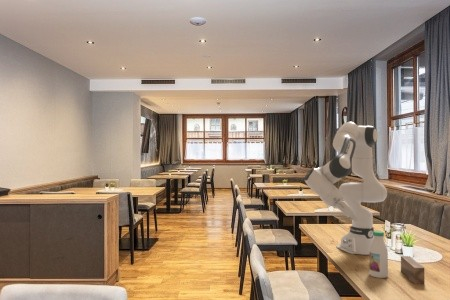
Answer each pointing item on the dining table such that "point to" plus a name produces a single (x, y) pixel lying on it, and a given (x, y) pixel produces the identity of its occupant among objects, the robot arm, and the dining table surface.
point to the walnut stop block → (412, 270)
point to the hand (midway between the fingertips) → (355, 219)
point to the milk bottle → (378, 256)
